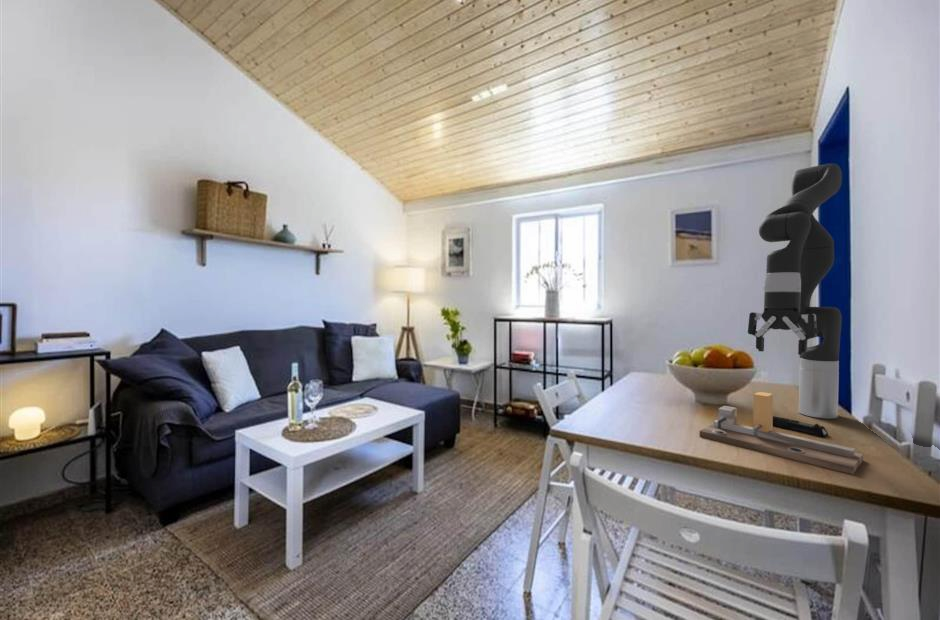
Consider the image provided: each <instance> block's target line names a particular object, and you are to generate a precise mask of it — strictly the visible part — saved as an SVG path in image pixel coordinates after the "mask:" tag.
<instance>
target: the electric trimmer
mask: <svg viewBox="0 0 940 620" xmlns="http://www.w3.org/2000/svg"><path fill="white" fill-rule="evenodd" d="M773 426H775V427H779V428H782V429H786V430H792V431H793V430H794V431H798V432H803V433H806V434H811V435H815V436H818V437H819V438H827V437H828V436H829V433H828V431H827V429H826V428H825V426H823V425H819V424H818V423H815V424H810V423H807V422H801V421H799V420H794V419H790V418H786V417H780V416H775V415H773Z"/></svg>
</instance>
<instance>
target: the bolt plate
mask: <svg viewBox="0 0 940 620" xmlns="http://www.w3.org/2000/svg"><path fill="white" fill-rule="evenodd" d="M737 414H738V407H733V406H728V405H723V406H721V407H718V419H716V420H714V421H713V423H712V424H710V425H708V426H706V427H704V428H702V429H701V430H700V429H699V437H700V438H705V439H709V440H713V441H717V442H722V443H726V444H730V445H733V446H738V447H742V448H745V449H750V450H753V451H757V452H761V453H765V454H770V455H774V456H778V457H781V458H785V459H790V460H794V461H797V462H802V463H806V464H810V465H814V466H819V467H822V468H826V469H831V470H834V471H838V472H843V473H847V474H850V475H855V473H856V471H857V470H858V468H859V467H860V465H861V464H862V463H863V461H864V453H860V452H857V451H856V448H853V447H850V446H849V447H848V446H844V445H839V444H833V443H830V442H825V441H822V440H821V441H820V440H816V439H812V438H811V439H810V438H806V437H801V436H796V435H792V434H788V433H787V434H786V433H783V432H782V433H781V432H778V431H772V430H770V431H769V432H763V431H758V430H757V437H755V436H754V430H753V426H749V425H744V424H738V423H737V421H738V418H737V417H738V415H737Z"/></svg>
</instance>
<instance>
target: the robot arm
mask: <svg viewBox="0 0 940 620" xmlns="http://www.w3.org/2000/svg"><path fill="white" fill-rule="evenodd" d="M842 181H843V173H842V169H841V167H840V166H839V165H838V164H836V163H825V164H819V165H816V166H810V167H806V168H801V169H798V170H796V171H795V172H794V173H793V175H792V176H791V196H790V197H789V198H788V199H787V200H786V201H785V202H784V204H783V205H782V206H781V207H779V208H777V209H776V210H773V211H772V212H770V213H769V214H767V215H766V216H765V217H763V219H762V221H761V222H760V223H759V227H758V234H759V236H760V239H762V240H763V241H765V242H767V243H776V242H788V244H787V245H786V246H785V247H783V248H781V249H780V248H779V249H777V250H773V251H770V252H768V253H767V256H766V270H765V271H766V274H765V280H764V287H763V288H764V289H763V290H764V295H763V297H764V298H763V299H764V300H763V301H764V303H763V312H761V313H760V312H756V311H755V312H750V313H749V317H748V326H747V327H748V328H747V333H748V334H749V335H750V336H751V335H752V336H754V337H755V348H756V350H758V352H764V351H765V337H764V335H765V334H767V333H768V331H770V330H783V331H790V330H791V331H792V332H793V333H795V335H796V336H797V337H798V347H797V349H798V352H797V354H798V356H799V366H798V367H799V368H798V369H799V370H798V371H799V372H798V374H799V375H798V377H799V378H798V413H799V414H801V415H805V416H808V417H813V418H818V419H827V420H828V419H830V420H831V419H838V417H839V416H838V415H839V379H840V378H839V377H840V376H839V375H840V373H839V372H840V371H839V369H840V365H839V364H840V361H839V360H840V347H841V333H842V324H843V323H842V322H843V320H842V319H843V318H842V313H841V310H840V309H839V308H837V307H834V306H811V300H812V296H813V293H814V292H815V290H816V288H817V287H818V286H819V284H820V283H821V281H823V279H824V278H825V276H826V275H828V273H829V272H830V270H831V269H832V267H833V266H834V261H835V247H834V246H835V241H834V238H833V237H832V236H831V234H830V233H829V231H828V230H827V229H826V228H825V227H824V226H823V225H822V224H821V223H820V222H819V221H818V220H817V219H816V217H815V216H814V212H815V210H817V208H819V207H820V206H821V205H822V204H824V203H825V202H826V201H828V200H829V199H830V198H832V197H833V196H834V195H836V194H837V193H838V192H839V190H840V189H841V187H842ZM760 319H762V320H763V321H764V322H765V323H764V324H763V325H762V326H761V327H760V329H758V330H757V325H758V321H760ZM815 338H823V340H822V342H820V343H819V344H817V345H813V346H808V341H809V340H810V339H815Z"/></svg>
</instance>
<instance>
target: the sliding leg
mask: <svg viewBox="0 0 940 620" xmlns="http://www.w3.org/2000/svg"><path fill="white" fill-rule="evenodd" d="M752 409H753V410H752V411H753V414H752V415H753V416H752V419H753V420H752V423H753V426H752V427H753V430H754V436H755V437H757V430H758V431H763V432H769V431H772V430H773V426H774V425H773V416H774V394H773V393H770V392H763V391H758V392H755V393H754V394H753V406H752Z"/></svg>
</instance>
